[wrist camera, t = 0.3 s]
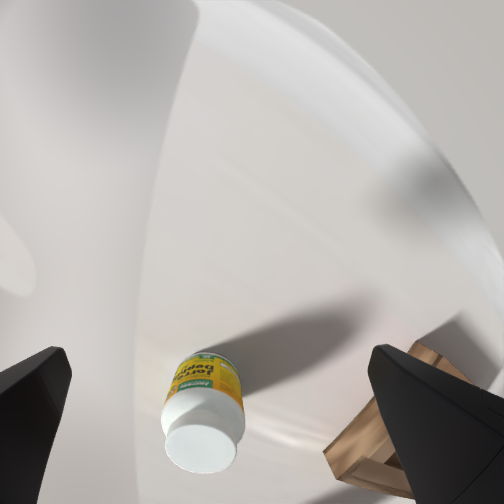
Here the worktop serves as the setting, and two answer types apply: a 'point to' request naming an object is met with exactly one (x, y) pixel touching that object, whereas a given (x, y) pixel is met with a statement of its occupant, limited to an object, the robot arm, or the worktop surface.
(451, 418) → the robot arm
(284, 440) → the worktop surface
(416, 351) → the box
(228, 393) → the supplement bottle
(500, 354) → the worktop surface
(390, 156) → the worktop surface
